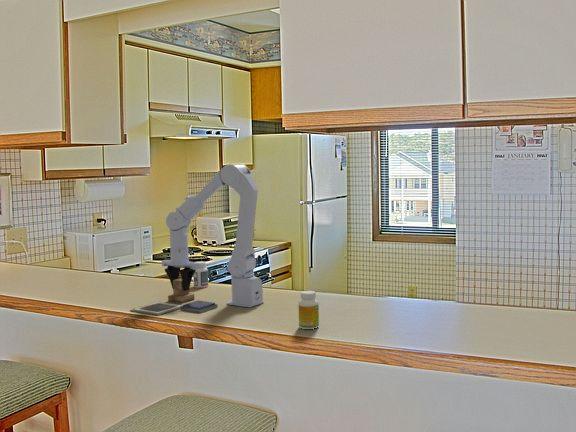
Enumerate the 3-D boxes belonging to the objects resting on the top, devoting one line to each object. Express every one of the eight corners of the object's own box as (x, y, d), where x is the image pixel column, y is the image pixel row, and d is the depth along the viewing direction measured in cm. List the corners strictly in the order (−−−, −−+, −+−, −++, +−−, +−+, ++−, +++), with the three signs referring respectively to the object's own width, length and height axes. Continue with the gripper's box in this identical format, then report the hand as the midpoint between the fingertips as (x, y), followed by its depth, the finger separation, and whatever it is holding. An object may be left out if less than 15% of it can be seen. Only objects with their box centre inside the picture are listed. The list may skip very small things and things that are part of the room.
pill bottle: (209, 285, 231) (209, 261, 230) (206, 288, 226) (205, 263, 225) (195, 285, 232) (194, 261, 231) (192, 288, 227) (191, 263, 226)
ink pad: (217, 307, 196) (217, 302, 196) (200, 313, 190) (200, 308, 190) (198, 304, 201) (197, 299, 201) (180, 310, 194) (180, 305, 194)
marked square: (185, 307, 198) (185, 305, 198) (158, 315, 188) (158, 313, 188) (158, 303, 204) (158, 301, 204) (130, 311, 194) (130, 309, 194)
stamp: (194, 299, 208) (193, 278, 208) (181, 303, 203) (181, 282, 203) (180, 297, 212) (180, 277, 211) (168, 301, 207) (167, 280, 206)
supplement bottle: (317, 330, 168) (316, 294, 167) (297, 330, 169) (296, 294, 168) (320, 325, 173) (319, 290, 172) (300, 324, 174) (299, 289, 173)
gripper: (154, 248, 206) (156, 289, 208) (187, 251, 198) (189, 294, 200) (169, 245, 212) (171, 285, 214) (202, 248, 204) (203, 289, 206)
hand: (180, 289), depth 207 cm, fingers open, 4 cm apart
